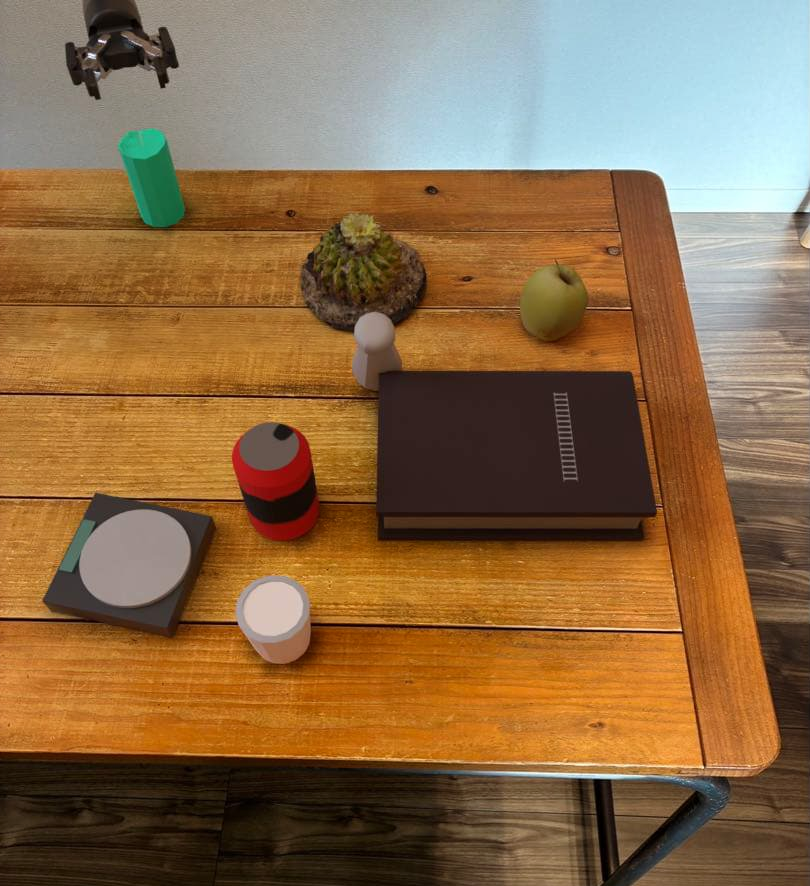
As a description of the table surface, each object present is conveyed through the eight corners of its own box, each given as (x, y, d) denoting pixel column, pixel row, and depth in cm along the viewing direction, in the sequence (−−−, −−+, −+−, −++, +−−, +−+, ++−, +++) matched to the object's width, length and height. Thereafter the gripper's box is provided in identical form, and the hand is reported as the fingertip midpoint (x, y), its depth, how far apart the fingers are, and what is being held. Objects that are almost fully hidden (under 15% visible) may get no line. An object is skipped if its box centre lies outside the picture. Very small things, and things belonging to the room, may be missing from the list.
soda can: (333, 504, 89) (325, 437, 78) (290, 554, 86) (275, 492, 75) (279, 471, 91) (263, 402, 80) (234, 519, 88) (212, 454, 77)
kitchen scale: (50, 611, 82) (39, 598, 80) (102, 504, 88) (93, 489, 86) (172, 638, 81) (165, 626, 78) (216, 527, 87) (210, 512, 84)
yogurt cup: (237, 661, 80) (224, 633, 74) (260, 599, 83) (249, 567, 77) (305, 677, 79) (297, 650, 73) (325, 614, 82) (319, 583, 76)
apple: (506, 343, 99) (524, 264, 92) (520, 313, 104) (537, 238, 97) (570, 360, 97) (593, 282, 91) (581, 329, 103) (603, 253, 96)
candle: (192, 202, 112) (171, 120, 102) (174, 231, 110) (151, 150, 99) (151, 194, 113) (126, 112, 103) (133, 222, 110) (105, 141, 100)
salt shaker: (345, 360, 97) (337, 313, 84) (390, 342, 97) (388, 293, 84) (365, 404, 96) (359, 363, 83) (409, 386, 96) (411, 342, 83)
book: (618, 396, 96) (630, 362, 91) (642, 541, 87) (657, 512, 81) (380, 396, 96) (379, 362, 91) (377, 540, 86) (376, 512, 81)
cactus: (415, 341, 100) (416, 280, 92) (288, 326, 101) (277, 264, 93) (435, 245, 108) (438, 180, 100) (317, 231, 110) (310, 167, 101)
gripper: (51, 0, 110) (63, 68, 103) (156, -17, 112) (176, 49, 105) (70, 55, 117) (83, 124, 109) (170, 39, 119) (189, 105, 111)
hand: (129, 87), depth 107 cm, fingers open, 8 cm apart
